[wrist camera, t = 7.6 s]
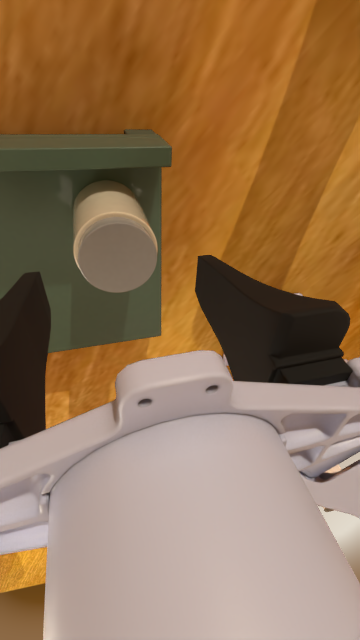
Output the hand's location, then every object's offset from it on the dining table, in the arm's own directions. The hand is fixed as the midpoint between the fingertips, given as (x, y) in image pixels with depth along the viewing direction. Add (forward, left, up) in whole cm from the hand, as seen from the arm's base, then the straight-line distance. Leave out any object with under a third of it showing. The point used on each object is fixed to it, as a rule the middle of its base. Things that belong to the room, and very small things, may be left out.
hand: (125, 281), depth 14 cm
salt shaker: (0, 0, -8) cm, 8 cm away
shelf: (-4, +2, -10) cm, 11 cm away
